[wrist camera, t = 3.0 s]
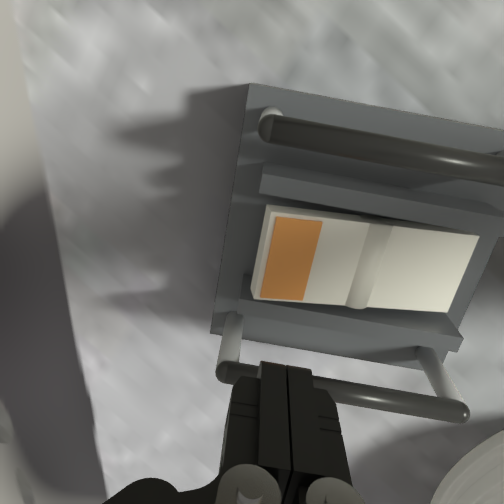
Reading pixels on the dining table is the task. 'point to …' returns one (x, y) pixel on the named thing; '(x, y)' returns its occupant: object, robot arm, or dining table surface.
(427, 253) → the breaker paddle
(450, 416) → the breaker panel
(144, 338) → the dining table surface
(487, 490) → the plate stack
